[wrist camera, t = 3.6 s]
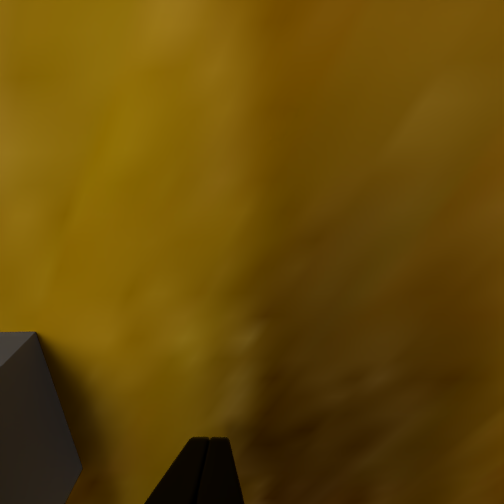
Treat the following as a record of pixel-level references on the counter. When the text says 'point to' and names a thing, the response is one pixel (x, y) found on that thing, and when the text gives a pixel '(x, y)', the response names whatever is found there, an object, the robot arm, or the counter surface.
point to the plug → (32, 427)
